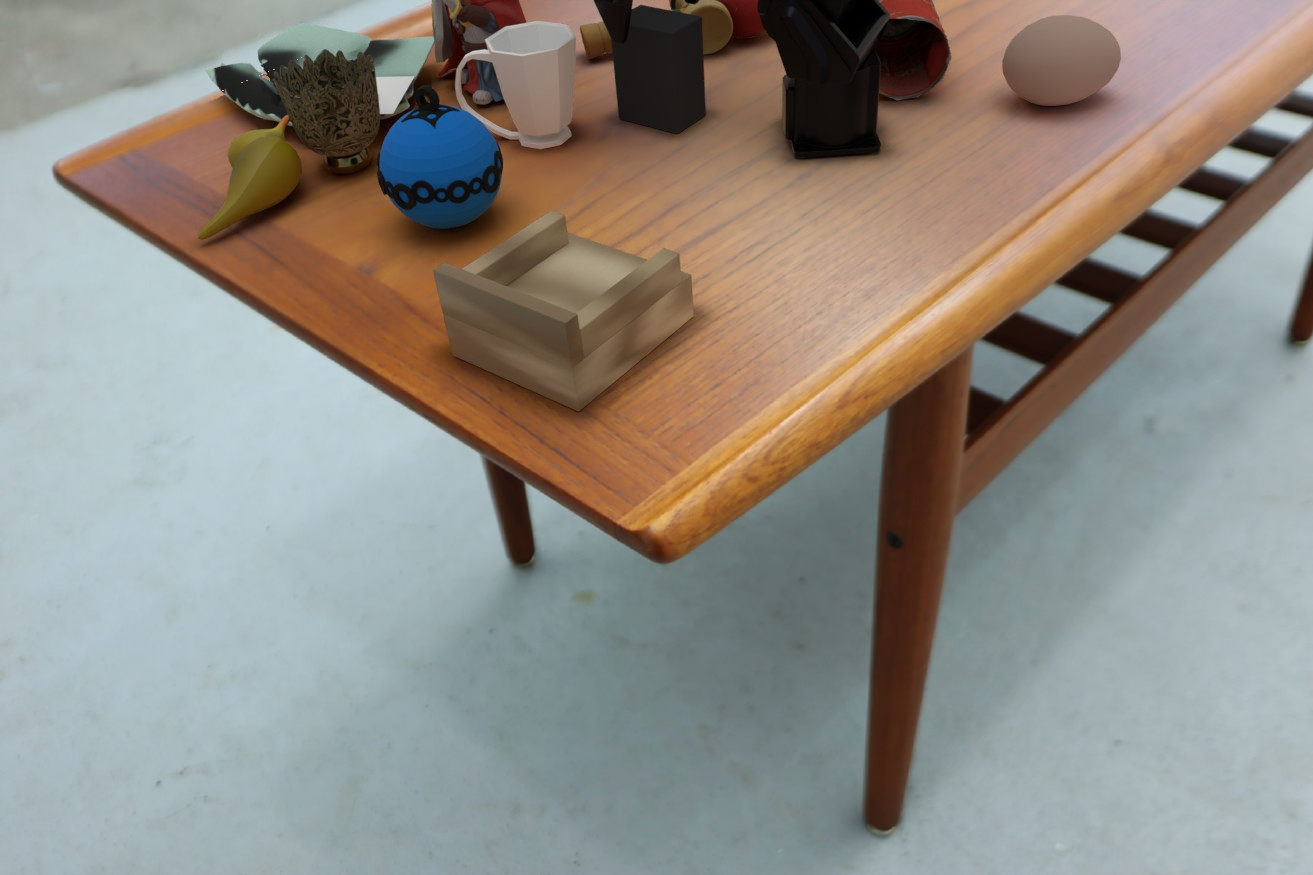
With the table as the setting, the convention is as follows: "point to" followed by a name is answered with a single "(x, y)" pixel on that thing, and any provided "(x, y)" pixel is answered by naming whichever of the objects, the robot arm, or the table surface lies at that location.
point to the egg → (1060, 60)
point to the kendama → (723, 15)
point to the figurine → (472, 39)
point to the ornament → (439, 164)
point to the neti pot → (256, 176)
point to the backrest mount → (562, 310)
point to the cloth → (308, 39)
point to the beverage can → (912, 49)
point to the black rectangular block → (661, 70)
